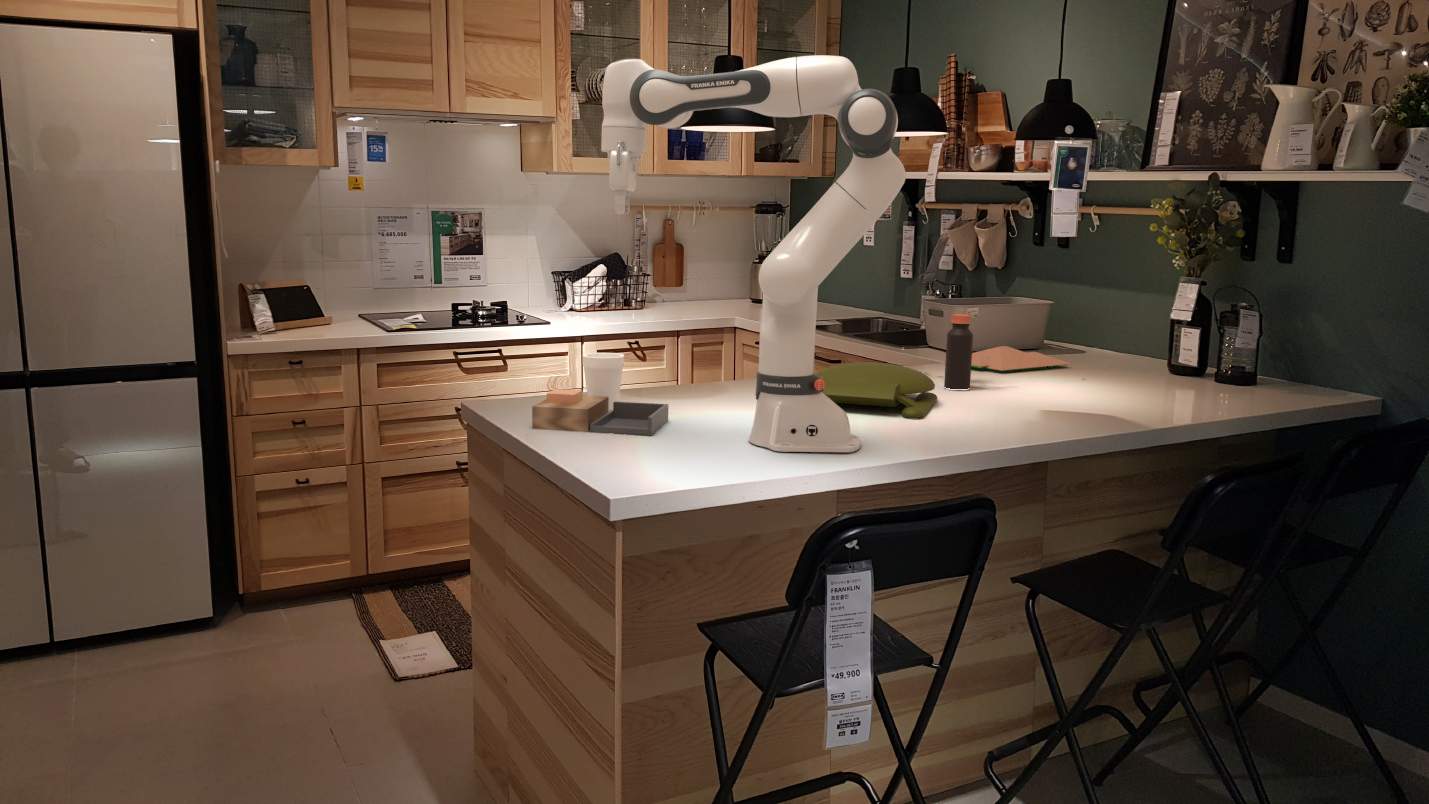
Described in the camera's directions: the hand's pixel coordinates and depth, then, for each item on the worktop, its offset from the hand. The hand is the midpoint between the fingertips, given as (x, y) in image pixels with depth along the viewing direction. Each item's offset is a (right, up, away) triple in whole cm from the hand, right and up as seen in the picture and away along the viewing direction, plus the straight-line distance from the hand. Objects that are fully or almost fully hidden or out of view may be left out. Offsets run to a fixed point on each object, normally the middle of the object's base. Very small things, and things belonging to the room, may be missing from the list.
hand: (622, 214), depth 217 cm
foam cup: (-7, -40, +30) cm, 51 cm away
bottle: (+84, -35, +72) cm, 115 cm away
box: (+1, -43, +13) cm, 45 cm away
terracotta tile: (-13, -38, +14) cm, 42 cm away
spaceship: (+57, -39, +49) cm, 85 cm away
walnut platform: (-12, -43, +15) cm, 47 cm away
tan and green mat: (+106, -29, +107) cm, 153 cm away
